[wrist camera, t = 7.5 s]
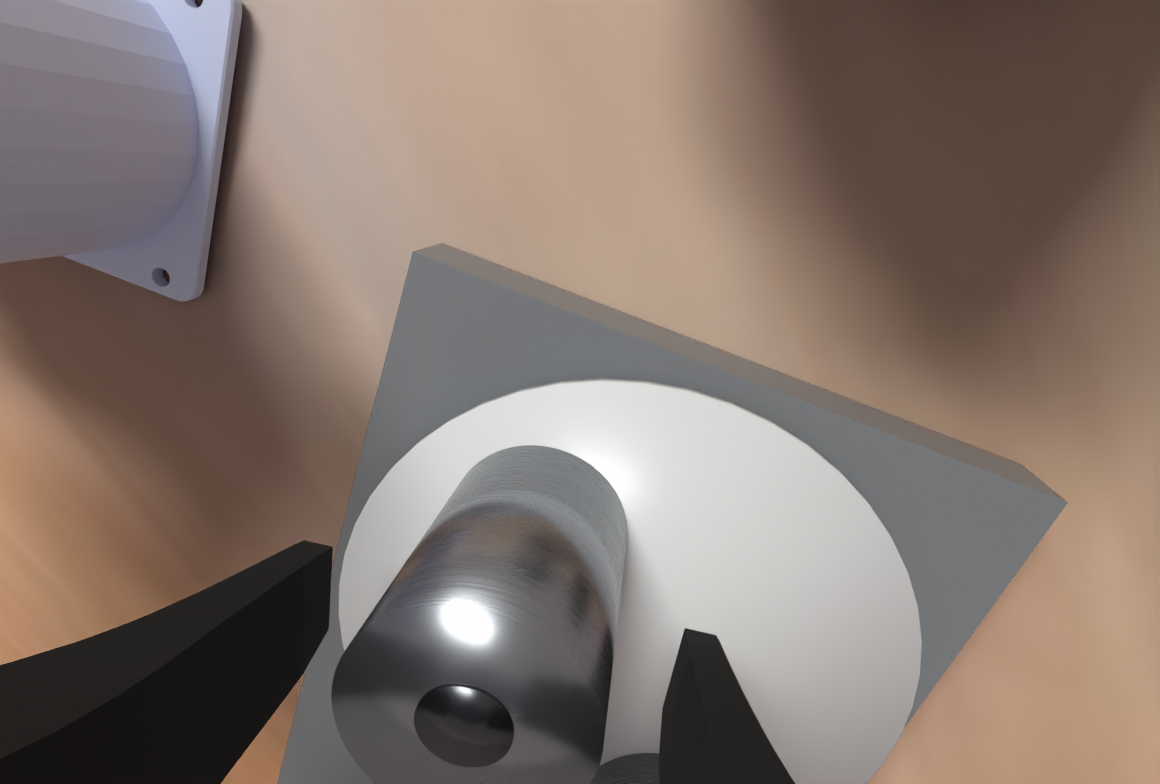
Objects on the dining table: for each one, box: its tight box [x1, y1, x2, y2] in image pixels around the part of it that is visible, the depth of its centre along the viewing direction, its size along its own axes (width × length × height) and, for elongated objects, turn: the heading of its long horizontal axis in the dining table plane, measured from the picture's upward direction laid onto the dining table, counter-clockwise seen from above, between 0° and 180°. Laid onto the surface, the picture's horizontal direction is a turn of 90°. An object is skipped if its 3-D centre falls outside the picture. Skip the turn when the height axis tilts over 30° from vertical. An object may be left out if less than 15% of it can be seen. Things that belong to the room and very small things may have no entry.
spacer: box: [331, 445, 628, 784], centre depth 13 cm, size 4×4×6 cm
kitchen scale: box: [277, 243, 1068, 784], centre depth 18 cm, size 16×20×5 cm
